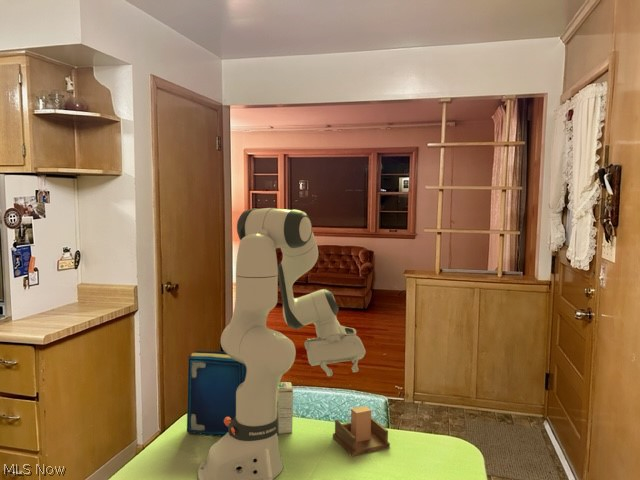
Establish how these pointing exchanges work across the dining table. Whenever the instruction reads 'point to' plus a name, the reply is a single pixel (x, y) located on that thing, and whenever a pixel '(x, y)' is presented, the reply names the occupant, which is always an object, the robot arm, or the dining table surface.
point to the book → (212, 391)
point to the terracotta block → (361, 423)
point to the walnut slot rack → (355, 448)
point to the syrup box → (285, 407)
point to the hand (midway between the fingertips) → (343, 373)
